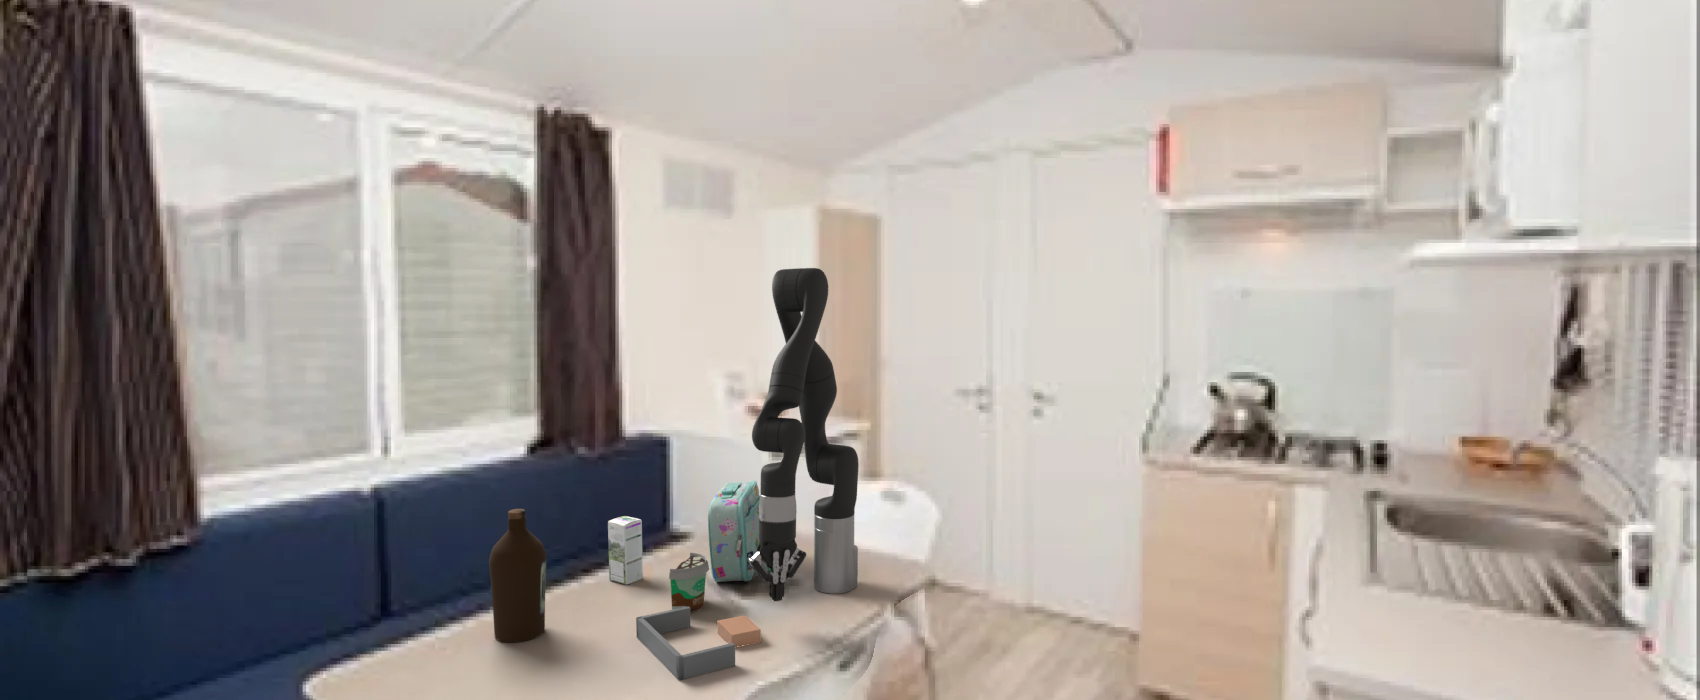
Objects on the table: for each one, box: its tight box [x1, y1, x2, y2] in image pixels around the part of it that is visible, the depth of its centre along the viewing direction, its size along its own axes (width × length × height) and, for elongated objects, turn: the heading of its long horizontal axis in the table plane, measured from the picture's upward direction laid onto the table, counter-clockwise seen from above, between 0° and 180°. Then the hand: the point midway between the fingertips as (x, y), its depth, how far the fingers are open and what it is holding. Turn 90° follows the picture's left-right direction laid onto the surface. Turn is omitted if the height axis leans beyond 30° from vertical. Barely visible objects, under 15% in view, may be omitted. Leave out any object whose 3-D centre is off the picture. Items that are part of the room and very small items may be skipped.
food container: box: [668, 552, 710, 613], centre depth 189 cm, size 12×6×10 cm, turn 168°
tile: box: [716, 614, 762, 648], centre depth 173 cm, size 6×8×3 cm
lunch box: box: [707, 480, 760, 583], centre depth 212 cm, size 27×10×21 cm, turn 179°
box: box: [635, 606, 736, 681], centre depth 167 cm, size 11×22×4 cm, turn 33°
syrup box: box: [607, 515, 644, 586], centre depth 205 cm, size 6×6×14 cm
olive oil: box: [488, 508, 547, 643], centre depth 174 cm, size 11×11×25 cm
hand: (776, 599), depth 177 cm, fingers closed
